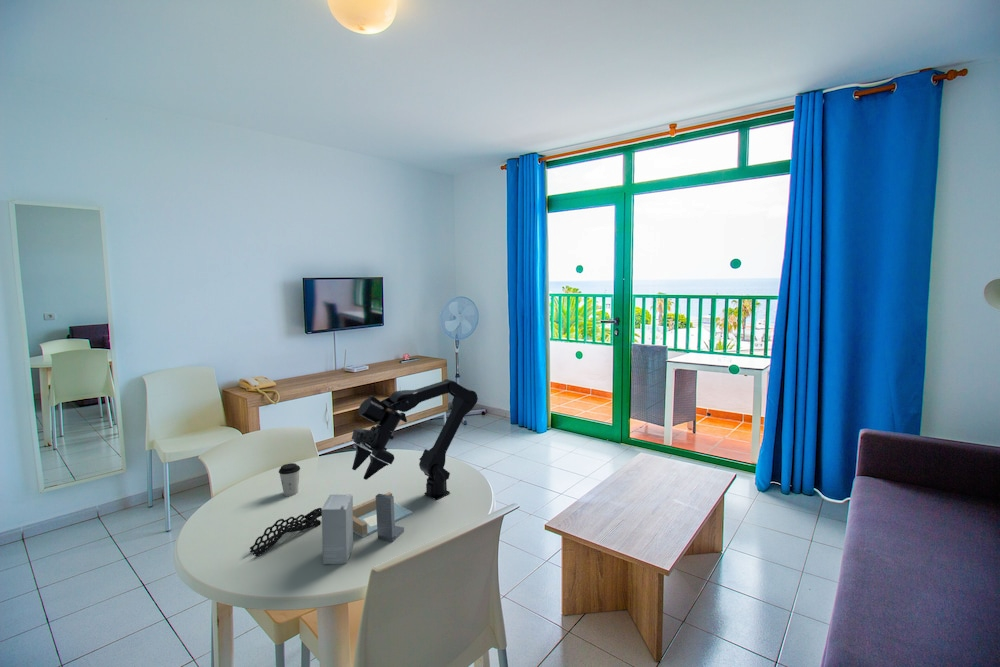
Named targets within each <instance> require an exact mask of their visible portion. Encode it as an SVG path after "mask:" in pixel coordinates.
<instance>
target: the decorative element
mask: <svg viewBox="0 0 1000 667" xmlns="http://www.w3.org/2000/svg"><path fill="white" fill-rule="evenodd" d="M322 508H323V507H318V508H314V509H313V510H311V511H310V512H308V513H307V514H305V515H304V514H300V515H298V516H297V517H294V516H290V517H288V518H287V519H285V520H284V518H279V519H278V520H276V521H275V522H274V524H272V525H271V526H268V527H266V529H264V532H263V534H262V535H260V536H258V537H257V538H256V539H255V542H254V544H253V545H251V546H250V547H249V551H250V552H249V553H251V554H253V555H252V556H255V555H256V556H255V557H258V556H261V555H262V554H264V553H265V552H267V551H268V550H270V549H271V548H272V547H273V546H274V545H275V544H277V542H278V541H279V540H280V539H281V538H282V537H283V536H284V535H285V534H287V533H293V532H300V531H304V530H309V529H310V528H313V527H319V526H321V525H322V520H320V519H318V518H319V517H322V510H321V509H322ZM279 522H280V523H279ZM284 523H285V525H283V524H284ZM273 528H275V529H274V530H273ZM268 531H269V532H268ZM271 534H273V535H271ZM270 535H271V536H270ZM265 536H266V539H265V540H264V537H265ZM258 541H259V542H258ZM255 547H256V548H255ZM254 554H255V555H254ZM260 554H261V555H260Z"/></svg>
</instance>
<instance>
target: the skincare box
mask: <svg viewBox="0 0 1000 667" xmlns="http://www.w3.org/2000/svg"><path fill="white" fill-rule="evenodd" d="M353 500H354V499H353V494H349V493H348V494H347V493H346V494H339V493H338V494H330V495H329V496H328V498H327V499H326V501H325V502H324V504H323V506H322V507H321V508H322V509H321V510H322V516H321V537H322V538H321V543H322V564H323V565H340V564H347V563H348V561H349V558H350V556H351V553H352V550H353V547H354V532H353V507H354V501H353Z"/></svg>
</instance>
